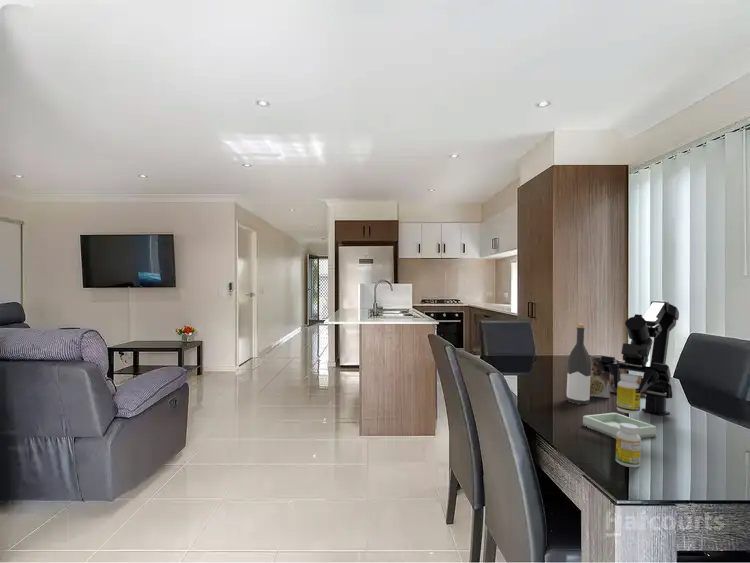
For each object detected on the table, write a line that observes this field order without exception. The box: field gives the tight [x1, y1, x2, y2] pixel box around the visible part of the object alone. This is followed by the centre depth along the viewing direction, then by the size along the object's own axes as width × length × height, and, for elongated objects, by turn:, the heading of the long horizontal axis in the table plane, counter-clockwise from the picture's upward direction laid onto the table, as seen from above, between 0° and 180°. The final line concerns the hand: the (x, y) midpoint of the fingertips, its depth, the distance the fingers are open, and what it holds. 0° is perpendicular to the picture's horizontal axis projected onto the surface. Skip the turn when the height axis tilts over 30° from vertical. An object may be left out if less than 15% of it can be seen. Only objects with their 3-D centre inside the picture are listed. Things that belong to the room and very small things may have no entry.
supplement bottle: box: [615, 423, 642, 468], centre depth 108 cm, size 5×5×10 cm
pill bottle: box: [616, 373, 641, 415], centre depth 132 cm, size 6×6×11 cm
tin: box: [610, 374, 646, 397], centre depth 181 cm, size 15×3×8 cm, turn 68°
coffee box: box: [589, 354, 611, 399], centre depth 177 cm, size 9×6×16 cm
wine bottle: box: [566, 323, 591, 405], centre depth 165 cm, size 8×8×30 cm
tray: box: [582, 412, 657, 439], centre depth 133 cm, size 14×14×3 cm
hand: (627, 390), depth 131 cm, fingers closed on pill bottle, 6 cm apart
